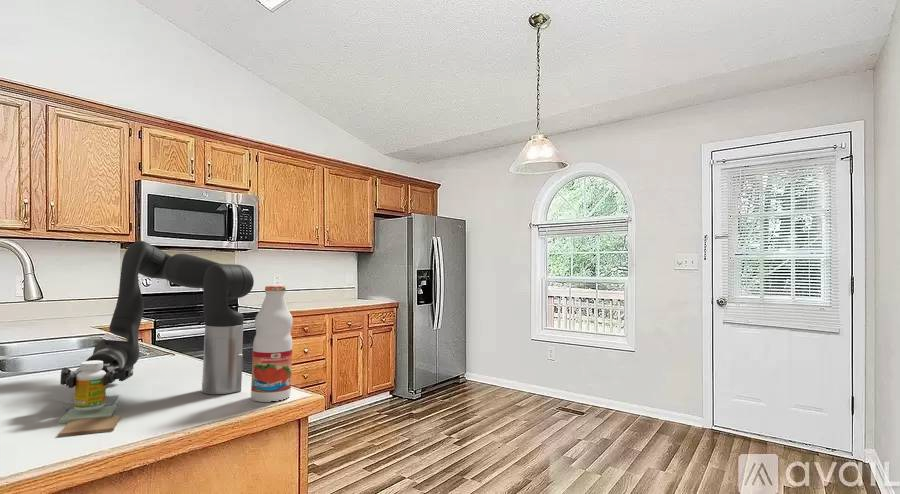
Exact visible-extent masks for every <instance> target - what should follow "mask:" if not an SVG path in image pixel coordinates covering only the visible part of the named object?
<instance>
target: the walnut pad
mask: <svg viewBox="0 0 900 494" xmlns="http://www.w3.org/2000/svg"><path fill="white" fill-rule="evenodd" d="M120 420H121V415H115V416H113V415H112V416H111V417H102V418H92V419H81V420H71V421H70V422H67V424H66V425H65V426H64V427H63V428H62V429H61V430H60V432H59V433H58V437H59V438H62V437H70V436H79V435H80V436H81V435H87V434H98V433H107V432H114V431H115V428H116V427H117V425H118V423H119V422H120Z"/></svg>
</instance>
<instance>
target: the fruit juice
mask: <svg viewBox="0 0 900 494" xmlns="http://www.w3.org/2000/svg"><path fill="white" fill-rule="evenodd" d="M264 292H265V297H264V299H263V302H262V303H261V304H262V305H261V306H260V307H261V308H260V309H259V311H258V312H257V314H256V316H255V318H254V327H255V336H254V338H253V343H252V359H251V360H252V362H251V363H252V364H251V385H250V387H251V388H250V398H251V400H252V401H254V402H257V401H258V402H259V403H272V402H271V401H276V402H280V401H279V400H281V401H284V400H283V399H285V400H287V399H289V398H290V396H291V393H292V392H291V391H292V389H291V388H292V371H293V370H292V369H293V368H292V367H293V366H292V365H293V347H294V346H293V337H292V334H291V330H292V327H293V324H294V317H293V316H292V314H291V312H290V309H289V307H288V304H287V301H286V297H285V293H286V286H283V285H281V286H280V285H265V288H264ZM288 397H289V398H288ZM286 398H287V399H286Z"/></svg>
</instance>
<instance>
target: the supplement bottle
mask: <svg viewBox="0 0 900 494" xmlns="http://www.w3.org/2000/svg"><path fill="white" fill-rule="evenodd" d="M79 368H80V370H82V371H81V372H80V373H78V374H77V375H76V381H75V386H74V400H73V401H74V409H75V410H93V409H98V408H101V407H103V406H104V405H105V396H106V391H107V385H105V386H104V375H105V374H106V372H105V371H103V370H102V368H103V361H99V360H94V361H86V360H85V361H82V362H81V363H80V365H79Z"/></svg>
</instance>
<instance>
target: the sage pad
mask: <svg viewBox="0 0 900 494" xmlns="http://www.w3.org/2000/svg"><path fill="white" fill-rule="evenodd" d="M117 407H118V405H117V404H114V405H112V406H103V407H101V408H98V409H93V410H75V409H70V410H69V411H66V413H65V414H64V415H63V416H62V417H61V418H60V419H59V424H64V423H67V424H68V423H69V422H70V421H71V420H81V419H92V418H102V417H113V414H114V413H115V412H116V409H117Z"/></svg>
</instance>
